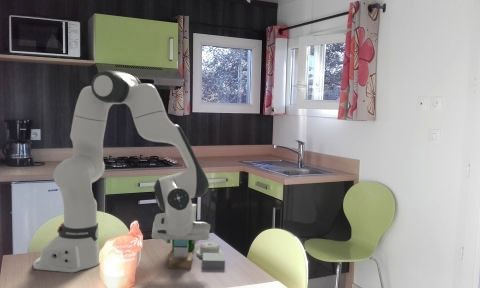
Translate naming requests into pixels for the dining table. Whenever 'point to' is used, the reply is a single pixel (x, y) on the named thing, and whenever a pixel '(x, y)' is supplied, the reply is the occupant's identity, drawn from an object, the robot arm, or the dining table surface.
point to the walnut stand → (180, 261)
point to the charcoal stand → (213, 261)
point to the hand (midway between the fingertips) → (181, 241)
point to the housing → (181, 248)
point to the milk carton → (190, 244)
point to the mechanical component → (208, 248)
